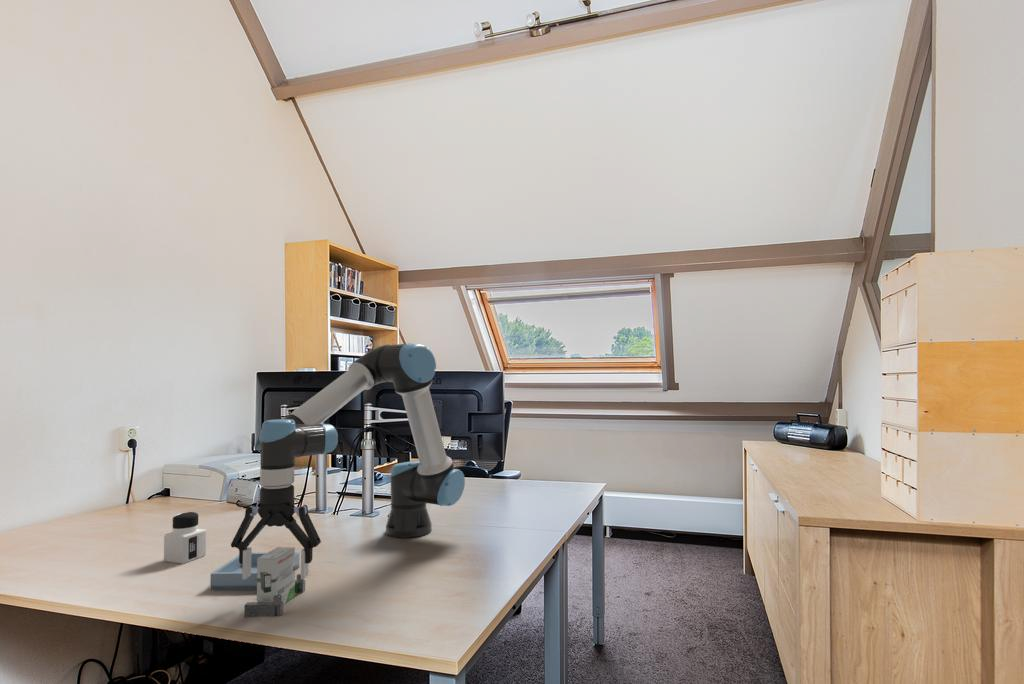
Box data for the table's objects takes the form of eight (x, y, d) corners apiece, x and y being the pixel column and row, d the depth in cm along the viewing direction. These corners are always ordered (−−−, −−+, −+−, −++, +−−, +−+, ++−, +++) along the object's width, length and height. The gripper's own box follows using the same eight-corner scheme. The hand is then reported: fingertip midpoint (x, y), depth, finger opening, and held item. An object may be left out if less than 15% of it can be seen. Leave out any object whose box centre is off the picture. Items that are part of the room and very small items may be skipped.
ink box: (277, 595, 136) (277, 545, 136) (296, 596, 135) (296, 546, 136) (255, 610, 127) (256, 557, 128) (275, 611, 126) (276, 558, 127)
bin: (299, 566, 155) (299, 552, 155) (274, 589, 139) (274, 573, 139) (242, 567, 155) (242, 552, 155) (210, 590, 139) (210, 573, 140)
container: (206, 555, 166) (206, 511, 166) (183, 564, 159) (184, 517, 159) (186, 553, 168) (187, 509, 169) (163, 561, 161) (163, 515, 162)
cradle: (305, 590, 138) (305, 573, 139) (280, 616, 124) (280, 597, 124) (273, 590, 138) (273, 574, 139) (244, 616, 124) (244, 598, 124)
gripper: (334, 482, 136) (333, 571, 135) (232, 482, 136) (230, 571, 135) (324, 488, 129) (323, 582, 127) (216, 488, 129) (214, 583, 128)
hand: (275, 577), depth 131 cm, fingers open, 13 cm apart
